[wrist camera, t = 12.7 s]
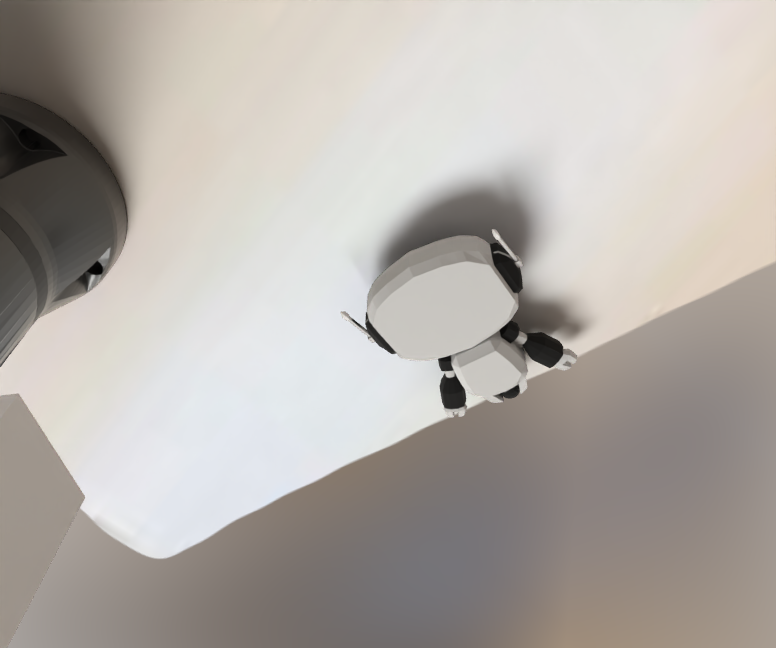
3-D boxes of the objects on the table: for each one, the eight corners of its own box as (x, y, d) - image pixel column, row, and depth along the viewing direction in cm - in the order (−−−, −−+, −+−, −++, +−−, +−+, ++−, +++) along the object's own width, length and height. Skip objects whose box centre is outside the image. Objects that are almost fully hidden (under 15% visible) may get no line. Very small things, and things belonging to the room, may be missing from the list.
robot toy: (580, 336, 55) (485, 193, 47) (592, 376, 51) (492, 229, 43) (445, 398, 59) (338, 277, 51) (448, 439, 56) (333, 315, 48)
